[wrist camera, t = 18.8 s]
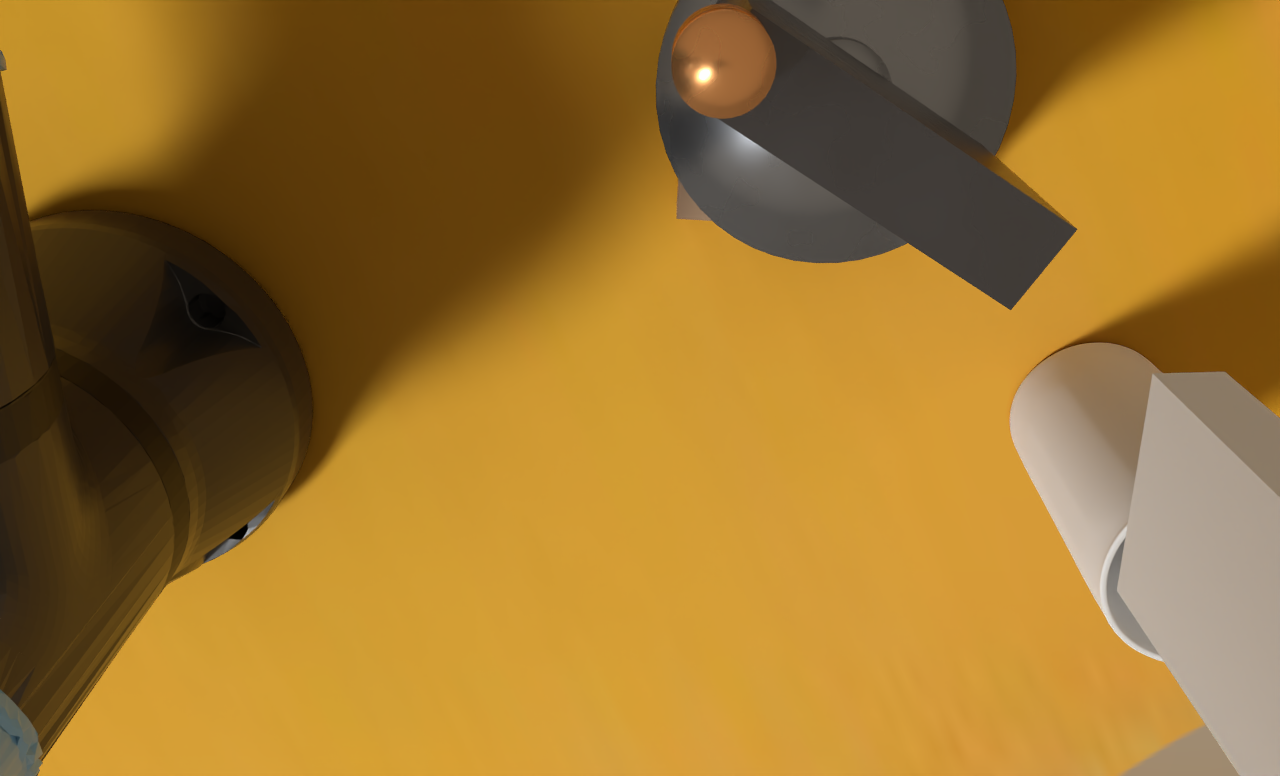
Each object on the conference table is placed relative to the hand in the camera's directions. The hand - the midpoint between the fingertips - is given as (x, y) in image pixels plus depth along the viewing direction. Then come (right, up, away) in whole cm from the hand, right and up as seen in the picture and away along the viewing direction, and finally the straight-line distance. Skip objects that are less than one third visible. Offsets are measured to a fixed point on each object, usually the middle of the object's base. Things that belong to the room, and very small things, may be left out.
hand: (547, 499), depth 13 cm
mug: (+20, -1, +34) cm, 40 cm away
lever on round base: (+8, +12, +27) cm, 30 cm away
